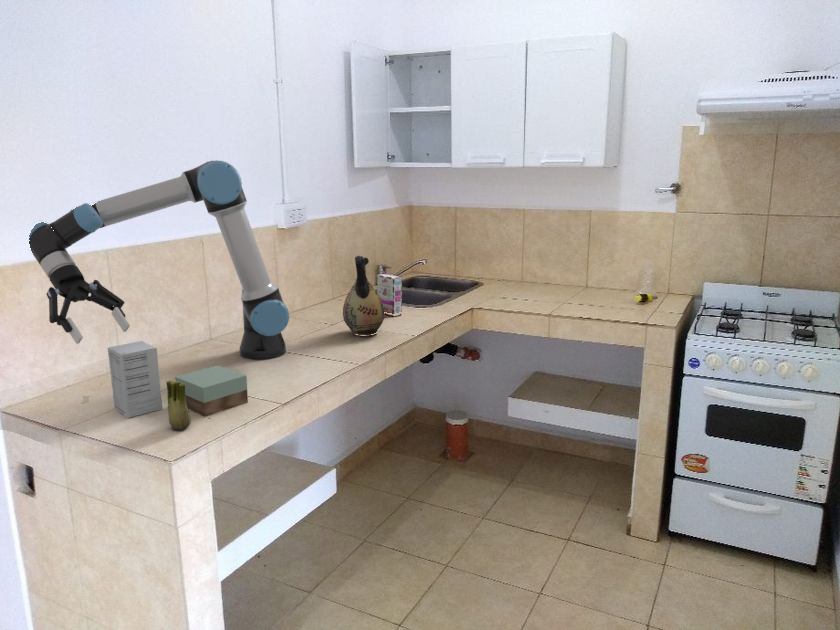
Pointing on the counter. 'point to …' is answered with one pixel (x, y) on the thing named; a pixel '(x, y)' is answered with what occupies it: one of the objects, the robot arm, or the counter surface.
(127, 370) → the supplement box
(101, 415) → the counter surface
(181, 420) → the fennel bulb
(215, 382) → the tower top
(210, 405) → the tower base
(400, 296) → the candy bar box
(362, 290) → the ceramic jug
